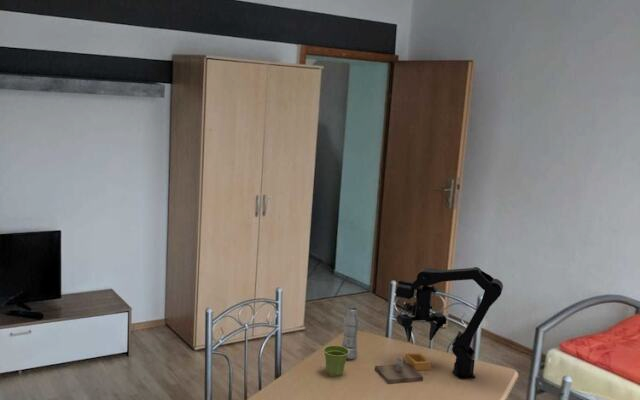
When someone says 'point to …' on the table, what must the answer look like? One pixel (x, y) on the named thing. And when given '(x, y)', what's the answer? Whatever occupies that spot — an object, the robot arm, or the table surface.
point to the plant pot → (335, 359)
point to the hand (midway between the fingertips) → (419, 340)
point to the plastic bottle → (351, 332)
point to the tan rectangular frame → (417, 361)
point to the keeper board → (398, 372)
